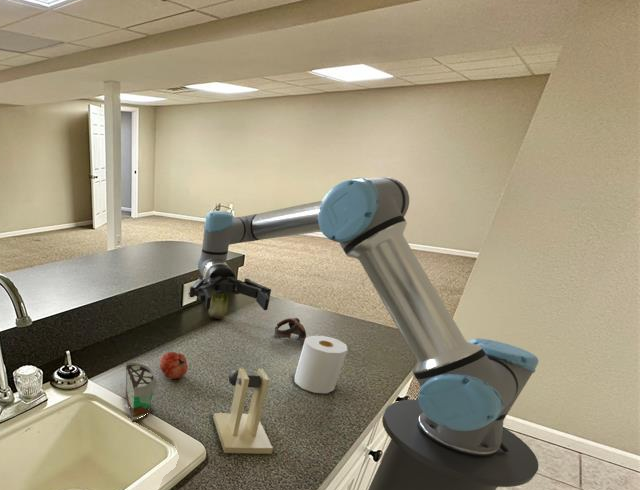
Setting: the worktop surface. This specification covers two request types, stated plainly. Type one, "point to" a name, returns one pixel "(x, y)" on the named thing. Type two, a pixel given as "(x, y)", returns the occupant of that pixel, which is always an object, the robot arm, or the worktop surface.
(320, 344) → the toilet paper
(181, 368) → the pomegranate
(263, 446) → the switch bracket
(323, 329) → the worktop surface
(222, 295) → the fennel bulb
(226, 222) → the robot arm
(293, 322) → the brown curved openwork frame
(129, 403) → the food container
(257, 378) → the lever
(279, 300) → the worktop surface
